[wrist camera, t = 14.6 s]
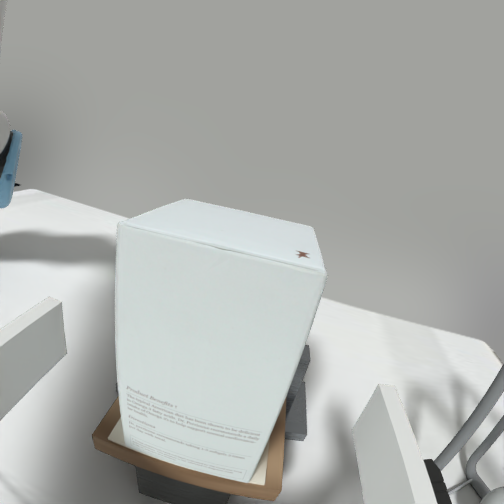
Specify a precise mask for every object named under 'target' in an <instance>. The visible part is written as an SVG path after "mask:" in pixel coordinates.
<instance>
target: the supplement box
mask: <svg viewBox="0 0 504 504" xmlns="http://www.w3.org/2000/svg"><path fill="white" fill-rule="evenodd" d="M327 276H328V274H327V271H326V269H325V266H324V262H323V258H322V255H321V251H320V248H319V245H318V241H317V238H316V235H315V232H314V229H313V227H311V226H307V225H303V224H298V223H294V222H289V221H285V220H281V219H276V218H272V217H267V216H263V215H259V214H254V213H249V212H245V211H241V210H236V209H232V208H227V207H223V206H218V205H214V204H209V203H204V202H199V201H195V200H190V199H183V200H180V201H177V202H174V203H171V204H168V205H165V206H162V207H159V208H157V209H154V210H151V211H149V212H146V213H143V214H141V215H138V216H136V217H133V218H131V219H128V220H125V221H122V222H119V223H118V224H117V238H116V274H115V346H116V367H117V382H118V393H119V404H120V413H121V419H122V427H123V433H124V441H125V445H126V446H127V447H130V448H132V449H135V450H137V451H140V452H142V453H145V454H147V455H150V456H153V457H156V458H158V459H161V460H164V461H167V462H170V463H173V464H176V465H179V466H182V467H186V468H189V469H192V470H196V471H199V472H203V473H207V474H210V475H214V476H218V477H222V478H226V479H231V480H235V481H240V482H244V483H249V482H250V480H251V478H252V476H253V474H254V471H255V469H256V467H257V465H258V462H259V460H260V458H261V456H262V453H263V451H264V449H265V447H266V444H267V442H268V439H269V437H270V435H271V432H272V430H273V428H274V425H275V423H276V421H277V418H278V416H279V413H280V411H281V408H282V406H283V403H284V401H285V398H286V396H287V393H288V390H289V388H290V385H291V382H292V380H293V377H294V374H295V372H296V369H297V366H298V364H299V361H300V358H301V355H302V352H303V350H304V347H305V344H306V341H307V338H308V335H309V332H310V330H311V327H312V324H313V321H314V318H315V314H316V311H317V308H318V305H319V302H320V299H321V296H322V293H323V290H324V287H325V284H326V280H327Z"/></svg>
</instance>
